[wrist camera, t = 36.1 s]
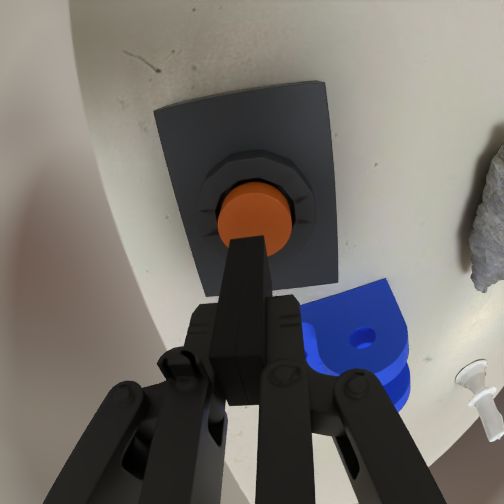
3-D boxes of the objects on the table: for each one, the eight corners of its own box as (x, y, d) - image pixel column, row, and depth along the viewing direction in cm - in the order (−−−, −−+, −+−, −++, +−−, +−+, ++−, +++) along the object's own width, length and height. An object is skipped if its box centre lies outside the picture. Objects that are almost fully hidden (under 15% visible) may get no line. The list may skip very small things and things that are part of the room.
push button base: (166, 105, 19) (142, 115, 15) (317, 80, 18) (331, 83, 14) (210, 276, 26) (202, 313, 23) (332, 262, 25) (342, 298, 21)
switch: (215, 186, 18) (210, 198, 16) (285, 176, 17) (287, 188, 16) (228, 246, 20) (225, 262, 18) (293, 238, 19) (295, 254, 18)
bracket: (385, 278, 26) (419, 358, 18) (394, 337, 30) (418, 409, 22) (200, 332, 30) (183, 411, 23) (236, 378, 34) (229, 449, 26)
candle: (479, 355, 32) (510, 428, 22) (491, 364, 34) (519, 430, 23) (449, 378, 35) (474, 451, 24) (463, 385, 36) (487, 451, 26)
